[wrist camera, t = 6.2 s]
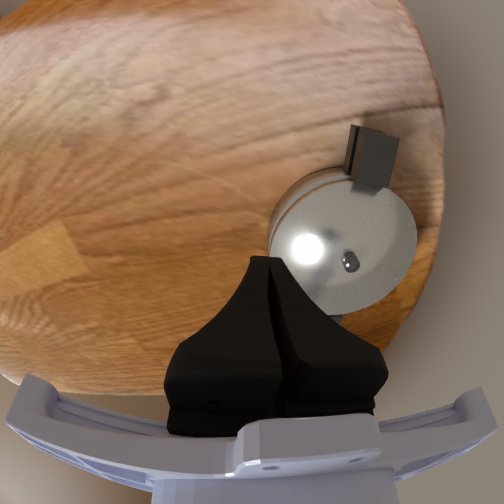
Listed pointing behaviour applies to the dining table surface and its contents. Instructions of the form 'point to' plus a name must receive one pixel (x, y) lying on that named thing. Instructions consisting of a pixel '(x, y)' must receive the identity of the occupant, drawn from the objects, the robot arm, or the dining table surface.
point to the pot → (313, 182)
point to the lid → (350, 233)
